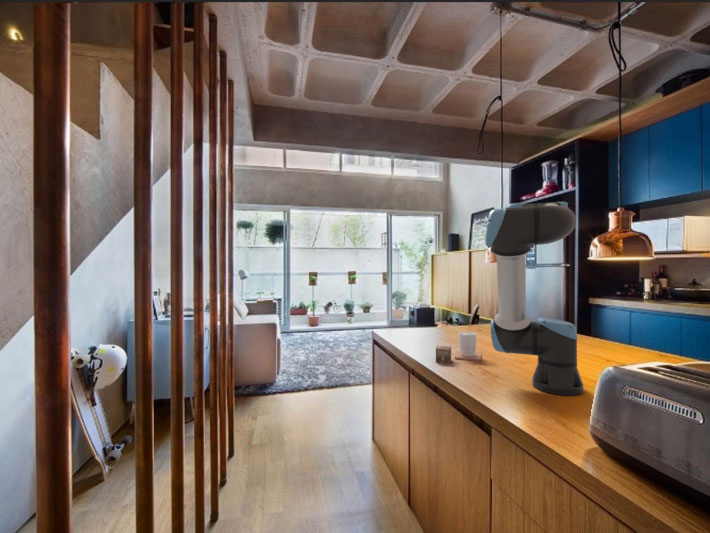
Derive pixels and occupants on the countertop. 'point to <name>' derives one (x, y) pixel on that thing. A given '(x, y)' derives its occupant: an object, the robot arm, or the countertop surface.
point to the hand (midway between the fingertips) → (515, 288)
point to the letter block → (443, 354)
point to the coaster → (474, 358)
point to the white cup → (467, 343)
